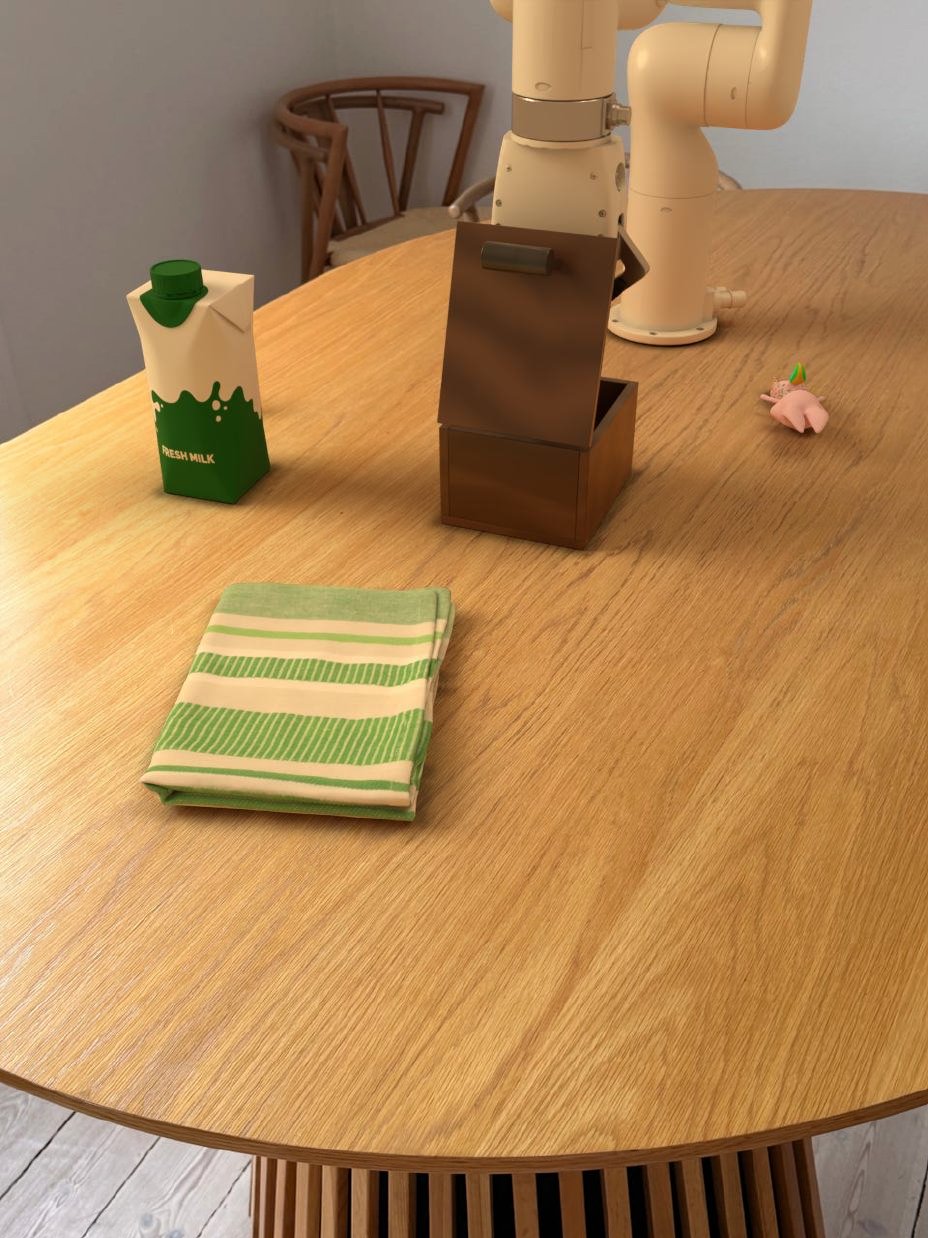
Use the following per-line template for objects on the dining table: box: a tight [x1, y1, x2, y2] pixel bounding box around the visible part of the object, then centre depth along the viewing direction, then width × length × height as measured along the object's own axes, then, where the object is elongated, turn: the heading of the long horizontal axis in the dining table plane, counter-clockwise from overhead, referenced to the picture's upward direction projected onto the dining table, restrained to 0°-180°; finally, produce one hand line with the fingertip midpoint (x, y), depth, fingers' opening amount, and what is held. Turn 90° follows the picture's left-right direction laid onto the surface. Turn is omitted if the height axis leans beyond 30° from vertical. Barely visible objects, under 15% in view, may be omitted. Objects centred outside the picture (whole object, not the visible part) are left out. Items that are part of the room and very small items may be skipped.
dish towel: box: [139, 581, 457, 822], centre depth 81 cm, size 18×23×3 cm
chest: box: [438, 376, 639, 551], centre depth 103 cm, size 15×13×9 cm
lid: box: [436, 220, 620, 448], centre depth 91 cm, size 15×13×5 cm
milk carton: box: [126, 258, 272, 505], centre depth 103 cm, size 9×9×20 cm
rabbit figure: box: [759, 362, 830, 434], centre depth 116 cm, size 6×6×15 cm
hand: (553, 347), depth 101 cm, fingers closed on energy drink, 5 cm apart
